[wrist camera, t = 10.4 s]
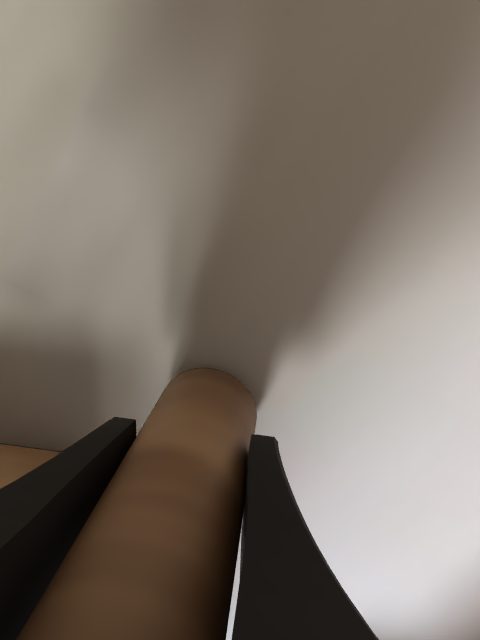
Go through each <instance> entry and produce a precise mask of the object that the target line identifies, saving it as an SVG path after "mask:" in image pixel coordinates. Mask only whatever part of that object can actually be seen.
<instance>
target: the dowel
mask: <svg viewBox="0 0 480 640" xmlns="http://www.w3.org/2000/svg"><path fill="white" fill-rule="evenodd" d="M256 418H257V412H256V406H255V403H254V400H253V398H252V396H251V394H250V392H249V391H248V390H247V388H246V387H245V386H244V385H243V384H242V383H241V382H240V381H239V380H237V379H236V378H234V377H233V376H231V375H229V374H227V373H225V372H222V371H219V370H215V369H207V368H201V369H193V370H189V371H186V372H184V373H182V374H180V375H178V376H177V377H175V378H174V379H173V380H172V381H171V382H170V383H169V384H168V385H167V387H166V388H165V390H164V392H163V393H162V395H161V397H160V398H159V400H158V402H157V403H156V405H155V407H154V408H153V410H152V412H151V413H150V415H149V417H148V418H147V420H146V422H145V424H144V425H143V427H142V429H141V430H140V432H139V434H138V435H137V437H136V439H135V440H134V442H133V444H132V445H131V447H130V449H129V450H128V452H127V454H126V455H125V457H124V459H123V461H122V462H121V464H120V466H119V467H118V469H117V471H116V472H115V474H114V476H113V477H112V479H111V481H110V482H109V484H108V486H107V487H106V489H105V491H104V492H103V494H102V496H101V498H100V499H99V501H98V503H97V504H96V506H95V508H94V509H93V511H92V513H91V514H90V516H89V518H88V519H87V521H86V523H85V524H84V526H83V528H82V529H81V531H80V533H79V535H78V536H77V538H76V540H75V541H74V543H73V545H72V546H71V548H70V550H69V551H68V553H67V555H66V556H65V558H64V560H63V561H62V563H61V565H60V566H59V568H58V570H57V572H56V573H55V575H54V577H53V578H52V580H51V582H50V583H49V585H48V587H47V588H46V590H45V592H44V593H43V595H42V597H41V598H40V600H39V602H38V603H37V605H36V607H35V609H34V610H33V612H32V614H31V615H30V617H29V619H28V620H27V622H26V624H25V625H24V627H23V629H22V630H21V632H20V634H19V635H18V637H17V639H16V640H226V633H227V626H228V619H229V611H230V604H231V597H232V590H233V583H234V576H235V568H236V561H237V554H238V547H239V540H240V533H241V526H242V518H243V511H244V504H245V488H246V473H247V461H248V450H249V444H250V439H251V434H254V433H255V425H256Z"/></svg>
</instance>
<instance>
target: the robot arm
mask: <svg viewBox="0 0 480 640" xmlns="http://www.w3.org/2000/svg"><path fill="white" fill-rule="evenodd" d="M135 439H136V420H134V419H126V418H118V417H114V418H112V419H111V420H109V421H108V422H106V423H105V424H103V425H101V426H100V427H98V428H97V429H96V430H94V431H93V432H91V433H90V434H88V435H87V436H85V437H84V438H82V439H81V440H79V441H78V442H76V443H75V444H73V445H72V446H70V447H69V448H67V449H66V450H64V451H62V452H61V453H59V454H58V455H56V456H55V457H53V458H52V459H50V460H48V461H47V462H45V463H43V464H42V465H40V466H38V467H37V468H35V469H33V470H32V471H30V472H28V473H27V474H25V475H23V476H22V477H20V478H18V479H17V480H15V481H13V482H12V483H10V484H8V485H6V486H4V487H3V488H1V489H0V640H16V639H17V637H18V635H19V634H20V632H21V630H22V629H23V627H24V625H25V624H26V622H27V620H28V619H29V617H30V615H31V614H32V612H33V610H34V609H35V607H36V605H37V603H38V602H39V600H40V598H41V597H42V595H43V593H44V592H45V590H46V588H47V587H48V585H49V583H50V582H51V580H52V578H53V577H54V575H55V573H56V572H57V570H58V568H59V566H60V565H61V563H62V561H63V560H64V558H65V556H66V555H67V553H68V551H69V550H70V548H71V546H72V545H73V543H74V541H75V540H76V538H77V536H78V535H79V533H80V531H81V529H82V528H83V526H84V524H85V523H86V521H87V519H88V518H89V516H90V514H91V513H92V511H93V509H94V508H95V506H96V504H97V503H98V501H99V499H100V498H101V496H102V494H103V492H104V491H105V489H106V487H107V486H108V484H109V482H110V481H111V479H112V477H113V476H114V474H115V472H116V471H117V469H118V467H119V466H120V464H121V462H122V461H123V459H124V457H125V455H126V454H127V452H128V450H129V449H130V447H131V445H132V444H133V442H134V440H135ZM232 640H379V639H378V638H377V637H376V635H375V634H374V633H373V631H372V630H371V629H370V627H369V626H368V624H367V623H366V621H365V620H364V619H363V617H362V616H361V614H360V613H359V611H358V610H357V608H356V607H355V606H354V604H353V603H352V601H351V600H350V598H349V597H348V595H347V594H346V593H345V591H344V590H343V588H342V587H341V585H340V583H339V582H338V580H337V578H336V577H335V575H334V574H333V572H332V570H331V569H330V567H329V565H328V564H327V562H326V560H325V558H324V557H323V555H322V553H321V551H320V550H319V548H318V546H317V544H316V542H315V540H314V539H313V537H312V535H311V533H310V531H309V529H308V527H307V525H306V522H305V520H304V518H303V516H302V514H301V512H300V510H299V507H298V505H297V503H296V500H295V498H294V495H293V493H292V490H291V488H290V485H289V482H288V480H287V477H286V474H285V471H284V468H283V464H282V461H281V457H280V453H279V448H278V441H277V440H276V439H275V437H270V436H262V435H254V434H251V439H250V444H249V450H248V461H247V473H246V488H245V504H244V511H243V522H242V536H241V563H240V584H239V591H238V598H237V605H236V613H235V620H234V627H233V634H232Z"/></svg>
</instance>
